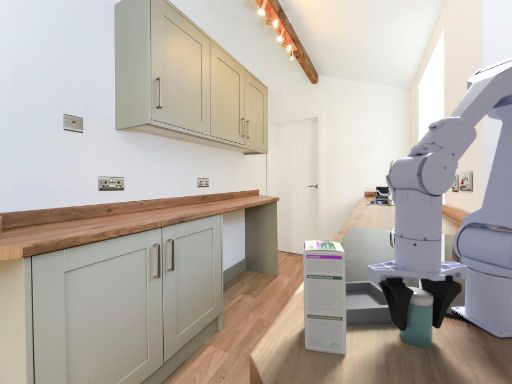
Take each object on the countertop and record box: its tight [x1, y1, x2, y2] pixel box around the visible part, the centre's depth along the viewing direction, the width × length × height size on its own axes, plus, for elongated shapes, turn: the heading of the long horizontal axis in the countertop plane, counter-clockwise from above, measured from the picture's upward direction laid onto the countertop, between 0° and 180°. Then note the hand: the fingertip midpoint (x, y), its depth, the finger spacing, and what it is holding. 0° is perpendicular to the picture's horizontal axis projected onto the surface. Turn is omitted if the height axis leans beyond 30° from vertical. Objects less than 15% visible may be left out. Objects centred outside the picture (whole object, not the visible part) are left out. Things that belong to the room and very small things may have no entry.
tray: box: [346, 280, 392, 325], centre depth 44 cm, size 10×10×2 cm
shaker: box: [399, 286, 433, 348], centre depth 35 cm, size 4×4×7 cm
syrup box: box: [302, 239, 347, 356], centre depth 35 cm, size 6×6×14 cm
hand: (415, 325), depth 35 cm, fingers open, 5 cm apart
